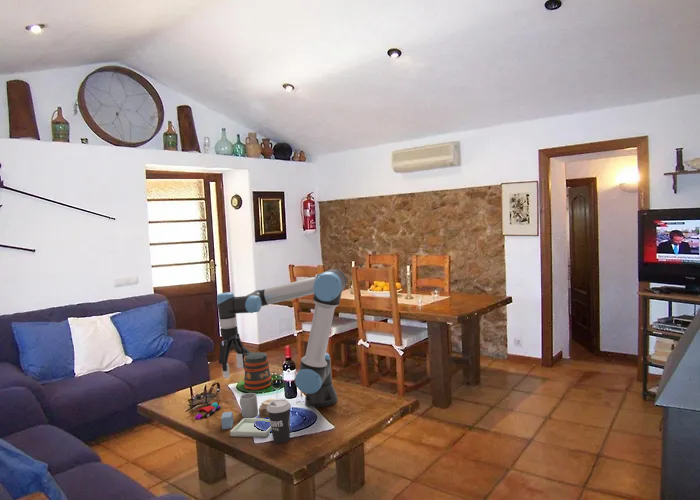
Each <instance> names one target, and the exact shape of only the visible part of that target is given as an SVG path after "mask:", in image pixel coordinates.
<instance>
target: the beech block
mask: <svg viewBox="0 0 700 500" xmlns="http://www.w3.org/2000/svg"><path fill="white" fill-rule="evenodd" d="M273 400H278V399H277V398H271V397H270V398H268V399H266V400H264V401H262V402H261V403H260V405H268V404H269V402H271V401H273Z"/></svg>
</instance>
